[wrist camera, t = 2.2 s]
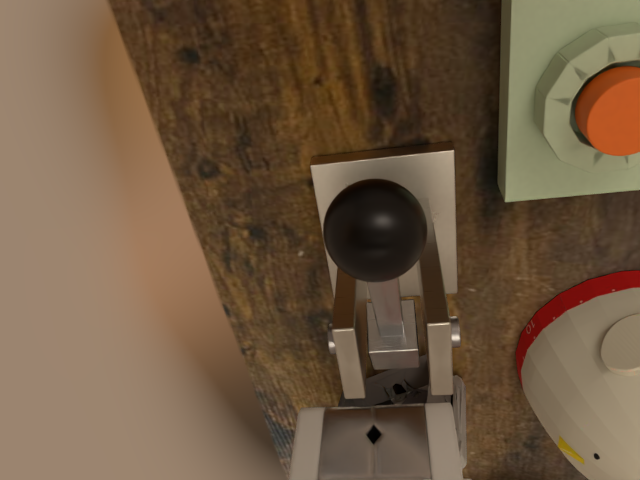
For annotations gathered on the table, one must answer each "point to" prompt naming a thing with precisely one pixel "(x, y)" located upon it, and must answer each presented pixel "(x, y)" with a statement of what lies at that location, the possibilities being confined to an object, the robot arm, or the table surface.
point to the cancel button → (611, 111)
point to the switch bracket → (421, 280)
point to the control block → (560, 95)
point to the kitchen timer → (588, 374)
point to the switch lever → (380, 261)
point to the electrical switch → (415, 396)
